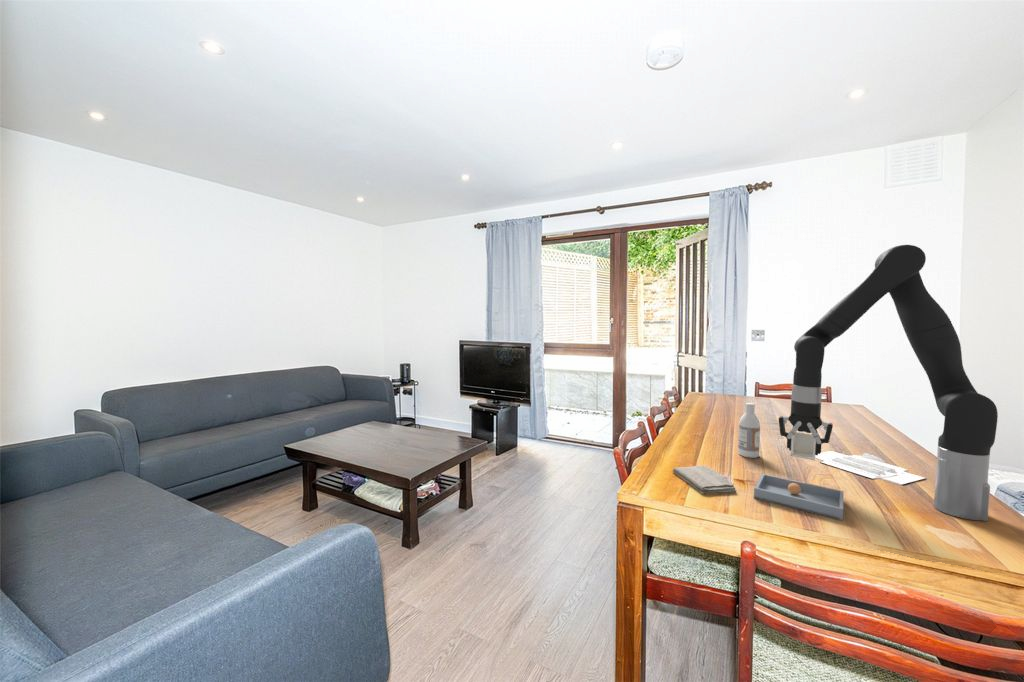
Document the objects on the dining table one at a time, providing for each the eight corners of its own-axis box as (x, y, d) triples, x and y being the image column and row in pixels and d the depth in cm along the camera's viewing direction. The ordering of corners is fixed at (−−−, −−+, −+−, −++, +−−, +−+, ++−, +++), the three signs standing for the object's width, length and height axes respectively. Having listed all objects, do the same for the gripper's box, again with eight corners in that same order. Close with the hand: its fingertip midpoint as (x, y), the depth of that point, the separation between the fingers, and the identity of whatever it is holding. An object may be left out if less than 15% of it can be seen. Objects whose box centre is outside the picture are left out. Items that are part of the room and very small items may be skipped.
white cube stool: (815, 455, 125) (816, 435, 125) (814, 460, 121) (815, 439, 120) (792, 451, 129) (793, 431, 129) (790, 456, 124) (791, 435, 124)
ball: (790, 480, 119) (801, 482, 116) (794, 490, 119) (805, 492, 116) (783, 485, 118) (793, 487, 115) (787, 495, 118) (798, 497, 115)
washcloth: (703, 496, 118) (703, 486, 118) (670, 473, 136) (671, 464, 135) (739, 494, 119) (739, 484, 119) (702, 471, 137) (703, 462, 137)
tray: (843, 501, 114) (843, 491, 113) (842, 520, 103) (843, 509, 103) (761, 482, 126) (762, 473, 126) (753, 498, 116) (754, 488, 116)
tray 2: (896, 489, 123) (896, 477, 123) (802, 461, 149) (802, 451, 149) (932, 479, 130) (932, 468, 130) (836, 454, 156) (836, 445, 156)
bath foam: (753, 459, 147) (755, 406, 145) (734, 454, 152) (736, 403, 151) (762, 455, 150) (764, 404, 149) (743, 450, 156) (745, 400, 155)
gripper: (836, 401, 122) (832, 454, 123) (780, 394, 131) (777, 444, 132) (835, 405, 116) (832, 461, 117) (777, 398, 125) (774, 450, 127)
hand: (803, 452), depth 125 cm, fingers closed on white cube stool, 6 cm apart
